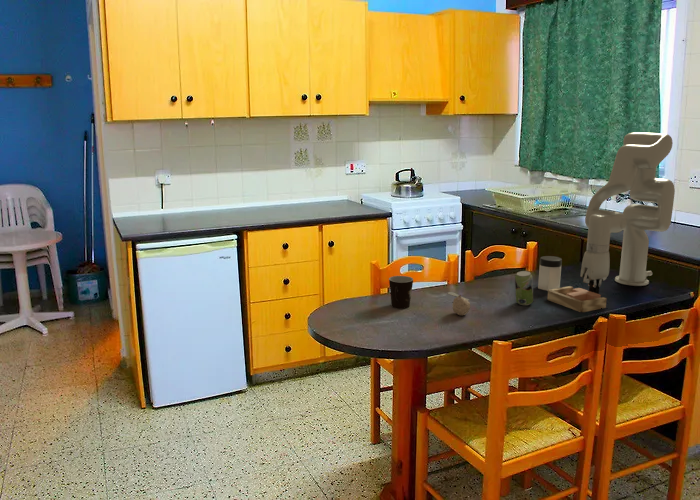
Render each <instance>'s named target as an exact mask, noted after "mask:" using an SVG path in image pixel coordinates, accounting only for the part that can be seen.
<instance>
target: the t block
mask: <svg viewBox="0 0 700 500" xmlns="http://www.w3.org/2000/svg"><path fill="white" fill-rule="evenodd" d="M566 296H569V297H572V298H575V299H578V300H581V301H585V300H590V299H596V298H601V296H602V294H600V293H599V294H597V293H594V292H591V291H589V289H588V290H587V289H585V288H581V287H576V288H573V289H572V293H567V294H566Z"/></svg>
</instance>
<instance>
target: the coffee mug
mask: <svg viewBox="0 0 700 500" xmlns="http://www.w3.org/2000/svg"><path fill="white" fill-rule="evenodd" d="M388 283H389V293H390V304H391V307H392V308H393V309H397V310H398V309H399V310H402V309H403V310H404V309H408V308H409V307H410V304H411V299H412V298H411V297H412V292H413V284H414V278H413V277H411V276H407V275H394V276H390V277H389V278H388Z"/></svg>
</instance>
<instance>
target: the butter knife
mask: <svg viewBox="0 0 700 500" xmlns="http://www.w3.org/2000/svg"><path fill="white" fill-rule="evenodd" d="M447 295H450V296H453V297H455V298H456V297H458V296H459V295H460V294H458V293H455V292H452V291H449V292H447ZM462 297H463V298H465V299H466V300H468V301H470V299H469V298H466V297H464V296H462Z"/></svg>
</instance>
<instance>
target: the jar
mask: <svg viewBox="0 0 700 500" xmlns="http://www.w3.org/2000/svg"><path fill="white" fill-rule="evenodd" d="M562 264H563V259H562V257H559V256H553V255H545V256H540V258H539V270H538V271H539V272H538V281H537V283H538V284H537V288H538V289H539V290H542V291H547V292H548V290H550V289H556V288H561V277H562V276H561V274H562Z"/></svg>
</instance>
